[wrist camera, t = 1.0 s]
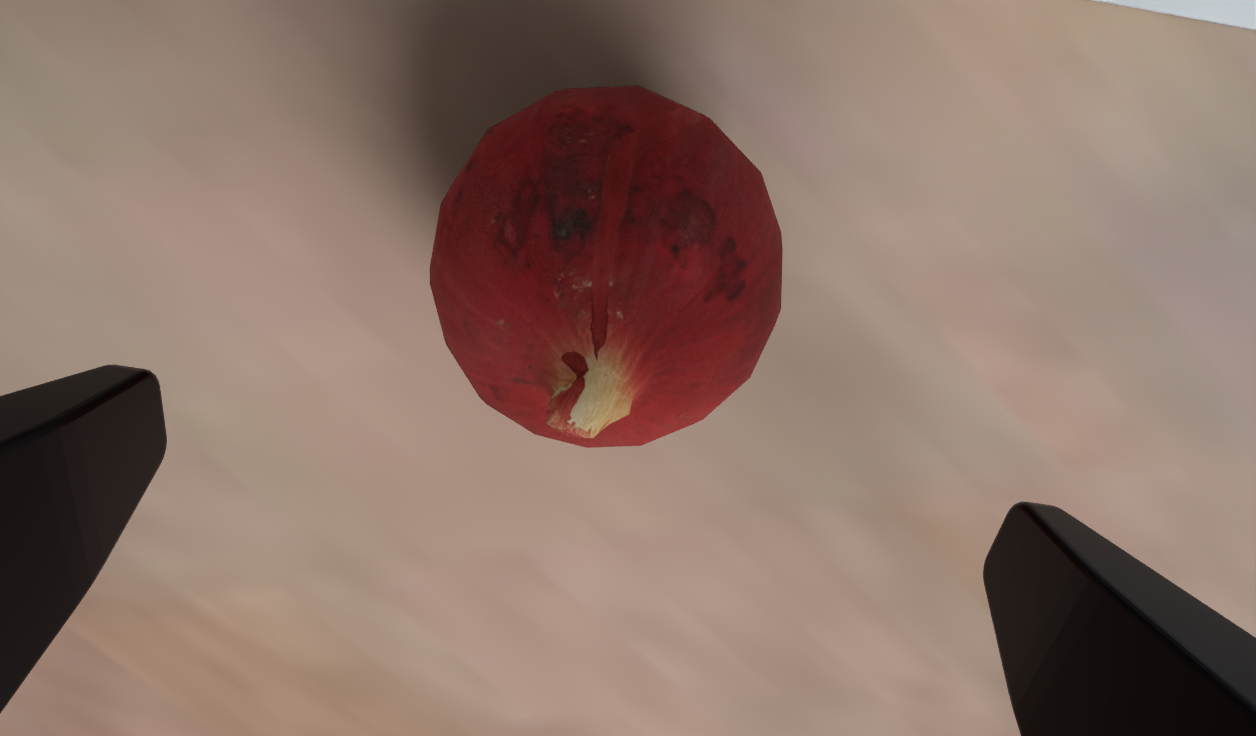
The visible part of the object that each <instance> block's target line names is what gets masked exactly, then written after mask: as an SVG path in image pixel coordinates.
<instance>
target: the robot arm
mask: <svg viewBox="0 0 1256 736" xmlns="http://www.w3.org/2000/svg"><path fill="white" fill-rule="evenodd" d="M166 444H167V435H166V428H165V421H164V413H163V406H162V398H161V391H160V385H159V381H158V379H157V377H156V375H154V374H153V373H152V372H151V371H149V370H146V369H140V368H134V367H127V366H120V365H106V366H102V367H98V368H95V369H92V370H88V371H85V372H81V373H78V374H74V375H71V376H68V377H64V378H61V379H57V380H54V381H50V382H47V383H44V384H40V385H37V386H33V387H30V388H27V389H23V390H20V391H16V392H13V393H9V394H6V395H3V396H0V713H1V712H2V710H3V709H4V708H5V706H6V705H7V703H8V702H9V701H10V699H11V698H12V696H13V695H14V694H15V692H16V691H17V689H18V688H19V687H20V685H21V684H22V682H23V681H24V680H25V678H26V677H27V675H28V674H29V673H30V671H31V670H32V668H33V667H34V666H35V664H36V663H37V662H38V660H39V659H40V657H41V656H42V655H43V653H44V652H45V650H46V649H47V648H48V646H49V645H50V643H51V642H52V641H53V639H54V638H55V636H56V635H57V634H58V632H59V631H60V629H61V628H62V627H63V625H64V624H65V623H66V621H67V620H68V618H69V617H70V616H71V614H72V613H73V611H74V610H75V609H76V607H77V606H78V604H79V603H80V601H81V600H82V598H83V597H84V596H85V594H86V593H87V591H88V590H89V588H90V587H91V585H92V584H93V582H94V580H95V579H96V577H97V576H98V574H99V572H100V571H101V569H102V567H103V566H104V564H105V562H106V560H107V559H108V557H109V555H110V553H111V551H112V550H113V548H114V546H115V544H116V543H117V541H118V539H119V537H120V535H121V534H122V532H123V530H124V528H125V527H126V525H127V523H128V521H129V519H130V518H131V516H132V514H133V512H134V511H135V509H136V507H137V505H138V503H139V502H140V500H141V498H142V496H143V494H144V493H145V491H146V489H147V487H148V486H149V484H150V482H151V480H152V478H153V477H154V475H155V473H156V471H157V470H158V468H159V466H160V464H161V462H162V460H163V457H164V454H165V450H166ZM983 579H984V585H985V590H986V594H987V599H988V603H989V608H990V612H991V617H992V621H993V625H994V630H995V634H996V639H997V643H998V648H999V652H1000V657H1001V661H1002V666H1003V670H1004V675H1005V679H1006V683H1007V688H1008V692H1009V696H1010V700H1011V703H1012V707H1013V711H1014V714H1015V718H1016V721H1017V724H1018V727H1019V730H1020V734H1021V736H1256V638H1255V637H1254V636H1252V635H1251V634H1249V633H1248V632H1246V631H1245V630H1243V629H1242V628H1240V627H1239V626H1237V625H1236V624H1234V623H1233V622H1231V621H1230V620H1228V619H1226V618H1225V617H1223V616H1222V615H1220V614H1219V613H1217V612H1216V611H1214V610H1213V609H1211V608H1210V607H1208V606H1207V605H1205V604H1204V603H1202V602H1201V601H1199V600H1198V599H1196V598H1195V597H1193V596H1192V595H1190V594H1189V593H1187V592H1186V591H1184V590H1183V589H1181V588H1180V587H1178V586H1177V585H1175V584H1174V583H1172V582H1171V581H1169V580H1168V579H1166V578H1165V577H1163V576H1162V575H1160V574H1159V573H1157V572H1156V571H1154V570H1153V569H1151V568H1150V567H1148V566H1146V565H1145V564H1143V563H1142V562H1140V561H1139V560H1137V559H1136V558H1134V557H1133V556H1131V555H1130V554H1128V553H1127V552H1125V551H1124V550H1122V549H1121V548H1119V547H1118V546H1116V545H1115V544H1113V543H1112V542H1110V541H1109V540H1107V539H1106V538H1104V537H1103V536H1101V535H1100V534H1098V533H1097V532H1095V531H1094V530H1092V529H1091V528H1089V527H1088V526H1086V525H1085V524H1083V523H1082V522H1080V521H1079V520H1077V519H1076V518H1074V517H1073V516H1071V515H1069V514H1068V513H1066V512H1065V511H1063V510H1062V509H1060V508H1058V507H1055V506H1051V505H1045V504H1038V503H1031V502H1019V503H1017V504H1015V505H1014V506H1013V507H1012V508H1011V509H1010V510H1009V512H1008V513H1007V515H1006V517H1005V519H1004V522H1003V524H1002V526H1001V528H1000V530H999V532H998V534H997V536H996V538H995V540H994V542H993V544H992V546H991V548H990V550H989V553H988V555H987V557H986V560H985V563H984V569H983Z"/></svg>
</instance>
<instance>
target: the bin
mask: <svg viewBox="0 0 1256 736" xmlns="http://www.w3.org/2000/svg"><path fill="white" fill-rule="evenodd" d="M1091 1H1097V2H1102V3H1108V4H1113V5H1119V6H1124V7H1130V8H1135V9H1141V10H1146V11H1152V12H1157V13H1162V14H1168V15H1173V16H1179V17H1184V18H1190V19H1195V20H1201V21H1206V22H1212V23H1217V24H1223V25H1228V26H1234V27H1239V28H1245V29H1250V30H1256V0H1091Z"/></svg>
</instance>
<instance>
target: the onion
mask: <svg viewBox="0 0 1256 736" xmlns="http://www.w3.org/2000/svg"><path fill="white" fill-rule="evenodd" d="M781 285H782V238H781V231H780V228H779V225H778V222H777V219H776V216H775V213H774V210H773V207H772V204H771V201H770V198H769V195H768V192H767V189H766V186H765V183H764V180H763V177H762V174H761V172H760V171H759V170H758V169H757V168H756V167H755V166H754V165H753V164H752V162H751V161H750V160H749V159H748V158H747V157H746V156H745V155H744V154H743V153H742V152H741V151H740V150H739V149H738V148H737V147H736V146H735V144H734V143H733V142H732V141H731V140H730V139H729V138H728V137H727V136H726V135H725V134H724V133H723V132H722V131H721V130H720V129H719V127H718V126H717V125H716V124H715V123H714V122H713V121H712V120H711V119H709V118H708V117H706V116H705V115H703V114H700V113H698V112H696V111H694V110H692V109H689V108H687V107H685V106H683V105H681V104H678V103H676V102H674V101H672V100H670V99H667V98H665V97H663V96H661V95H659V94H656V93H654V92H652V91H650V90H648V89H645V88H643V87H641V86H639V85H636V86H616V87H596V88H575V89H563V90H559V91H556V92H553V93H552V94H550V95H548V96H546V97H544V98H543V99H541V100H539V101H537V102H536V103H534V104H532V105H530V106H528V107H527V108H525V109H523V110H521V111H519V112H518V113H516V114H514V115H512V116H511V117H509V118H507V119H505V120H503V121H502V122H500V123H498V124H496V125H495V126H493V127H491V128H489V129H488V130H487V131H486V133H485V134H484V136H483V137H482V139H481V141H480V142H479V144H478V145H477V147H476V148H475V150H474V151H473V153H472V155H471V156H470V158H469V159H468V161H467V162H466V164H465V165H464V167H463V169H462V170H461V172H460V173H459V175H458V176H457V178H456V179H455V181H454V183H453V184H452V186H451V187H450V189H449V191H448V192H447V194H446V196H445V198H444V199H443V201H442V203H441V206H440V212H439V217H438V223H437V229H436V235H435V240H434V246H433V252H432V258H431V264H430V286H431V289H432V293H433V297H434V301H435V305H436V308H437V312H438V316H439V320H440V324H441V327H442V331H443V335H444V339H445V342H446V345H447V347H448V348H449V350H450V351H451V353H452V355H453V356H454V358H455V359H456V361H457V362H458V364H459V366H460V367H461V369H462V370H463V372H464V373H465V375H466V377H467V378H468V380H469V381H470V383H471V384H472V386H473V388H474V389H475V391H476V392H477V394H478V396H479V397H480V398H481V399H482V400H483V401H484V402H485V403H486V404H487V405H489V406H490V407H492V408H494V409H495V410H497V411H498V412H500V413H502V414H503V415H505V416H506V417H508V418H510V419H511V420H513V421H515V422H516V423H518V424H519V425H521V426H523V427H524V428H526V429H527V430H529V431H531V432H532V433H534V434H536V435H540V436H544V437H548V438H551V439H555V440H559V441H563V442H567V443H571V444H575V445H579V446H583V447H587V448H589V447H615V446H641V445H643V444H646V443H648V442H651V441H653V440H655V439H658V438H660V437H663V436H665V435H668V434H670V433H672V432H675V431H677V430H680V429H682V428H684V427H687V426H689V425H692V424H694V423H696V422H698V421H700V420H702V419H704V418H705V417H706V416H707V415H708V414H710V413H711V412H712V411H713V410H714V409H715V408H716V407H717V406H719V405H720V404H721V403H722V402H723V401H724V400H725V399H726V398H728V397H729V396H730V395H731V394H732V393H733V392H734V391H735V390H737V389H738V388H739V387H740V386H741V385H742V384H743V383H744V382H746V381H747V380H748V379H749V378H750V376H751V374H752V372H753V370H754V368H755V366H756V364H757V361H758V359H759V357H760V355H761V353H762V351H763V349H764V347H765V345H766V343H767V340H768V338H769V336H770V334H771V332H772V330H773V328H774V326H775V323H776V321H777V318H778V315H779V313H780V310H781Z"/></svg>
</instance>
